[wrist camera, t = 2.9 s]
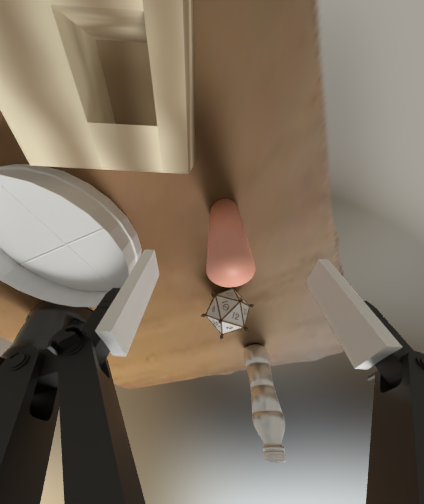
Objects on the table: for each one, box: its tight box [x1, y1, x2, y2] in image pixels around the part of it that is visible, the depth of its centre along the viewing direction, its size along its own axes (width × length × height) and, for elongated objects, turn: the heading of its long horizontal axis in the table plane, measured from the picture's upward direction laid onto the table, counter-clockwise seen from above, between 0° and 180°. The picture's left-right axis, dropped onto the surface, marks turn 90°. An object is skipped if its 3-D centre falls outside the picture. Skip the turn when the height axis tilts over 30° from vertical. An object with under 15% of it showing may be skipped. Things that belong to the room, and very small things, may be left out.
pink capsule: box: [206, 199, 255, 287], centre depth 18 cm, size 4×4×12 cm
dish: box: [0, 164, 142, 307], centre depth 25 cm, size 22×22×5 cm
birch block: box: [0, 0, 195, 174], centre depth 14 cm, size 14×12×6 cm
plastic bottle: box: [244, 344, 286, 462], centre depth 38 cm, size 6×7×20 cm
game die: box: [201, 287, 254, 339], centre depth 30 cm, size 9×8×10 cm
